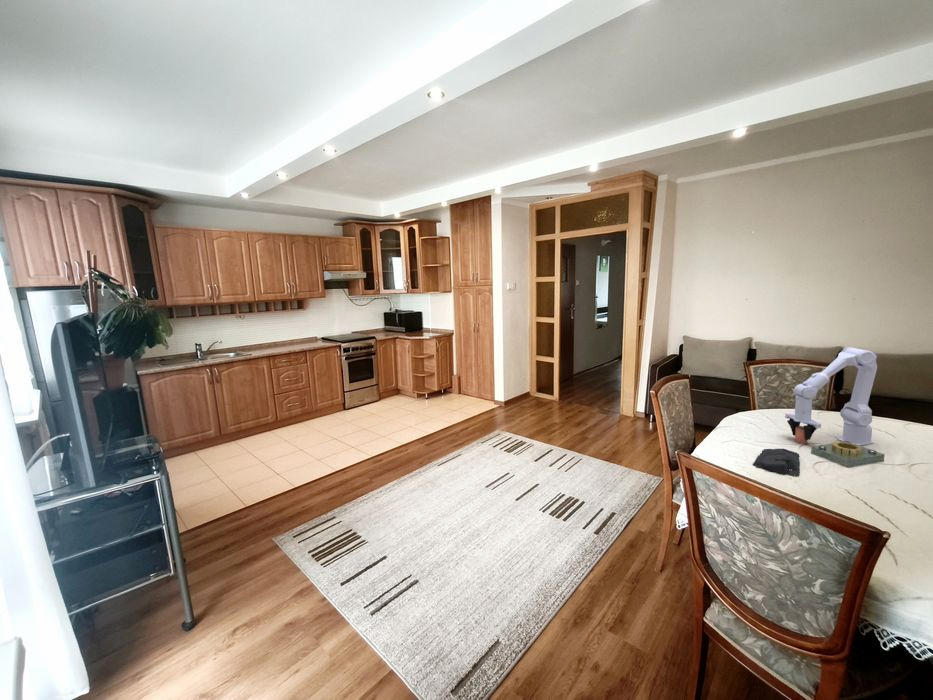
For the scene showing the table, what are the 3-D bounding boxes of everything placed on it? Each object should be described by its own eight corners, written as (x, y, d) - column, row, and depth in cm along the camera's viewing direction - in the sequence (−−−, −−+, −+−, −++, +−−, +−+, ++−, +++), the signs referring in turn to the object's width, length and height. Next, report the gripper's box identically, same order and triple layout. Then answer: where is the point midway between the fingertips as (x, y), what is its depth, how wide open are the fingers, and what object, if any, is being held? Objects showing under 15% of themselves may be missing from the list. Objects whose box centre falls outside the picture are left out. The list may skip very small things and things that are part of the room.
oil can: (800, 439, 177) (801, 423, 176) (809, 443, 173) (811, 426, 172) (792, 440, 177) (793, 424, 175) (801, 444, 172) (803, 428, 171)
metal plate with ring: (844, 447, 167) (845, 436, 166) (883, 461, 153) (885, 449, 152) (811, 453, 164) (811, 442, 163) (847, 467, 151) (848, 456, 150)
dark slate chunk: (806, 459, 160) (806, 449, 159) (798, 479, 146) (799, 468, 145) (761, 449, 172) (762, 440, 171) (750, 467, 157) (750, 457, 156)
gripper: (780, 406, 179) (778, 432, 181) (812, 416, 165) (810, 444, 167) (793, 404, 180) (791, 430, 182) (826, 413, 166) (823, 442, 168)
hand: (801, 437), depth 175 cm, fingers open, 5 cm apart
